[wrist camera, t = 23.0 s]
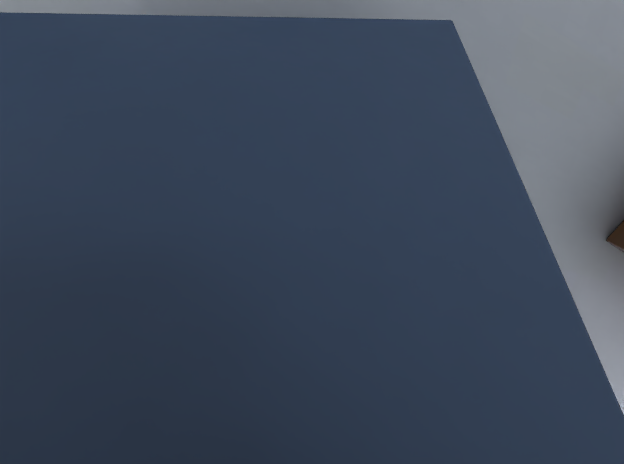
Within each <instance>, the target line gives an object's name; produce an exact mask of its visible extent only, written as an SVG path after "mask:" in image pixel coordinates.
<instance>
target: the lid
mask: <svg viewBox="0 0 624 464" xmlns="http://www.w3.org/2000/svg"><path fill="white" fill-rule="evenodd" d="M0 464H624V415H623V413H622V410H621V408H620V406H619V404H618V401H617V399H616V397H615V394H614V392H613V390H612V387H611V385H610V383H609V381H608V378H607V376H606V374H605V371H604V369H603V367H602V364H601V362H600V360H599V357H598V355H597V353H596V351H595V348H594V346H593V344H592V341H591V339H590V337H589V334H588V332H587V330H586V328H585V325H584V323H583V321H582V318H581V316H580V314H579V311H578V309H577V307H576V305H575V302H574V300H573V298H572V295H571V293H570V291H569V288H568V286H567V284H566V282H565V279H564V277H563V275H562V272H561V270H560V268H559V265H558V263H557V261H556V258H555V256H554V254H553V252H552V249H551V247H550V245H549V242H548V240H547V238H546V235H545V233H544V231H543V229H542V226H541V224H540V222H539V219H538V217H537V215H536V212H535V210H534V208H533V206H532V203H531V201H530V199H529V196H528V194H527V192H526V189H525V187H524V185H523V183H522V180H521V178H520V176H519V173H518V171H517V169H516V166H515V164H514V162H513V159H512V157H511V155H510V153H509V150H508V148H507V146H506V143H505V141H504V139H503V136H502V134H501V132H500V130H499V127H498V125H497V123H496V120H495V118H494V116H493V113H492V111H491V109H490V107H489V104H488V102H487V100H486V97H485V95H484V93H483V90H482V88H481V86H480V84H479V81H478V79H477V77H476V74H475V72H474V70H473V67H472V65H471V63H470V60H469V58H468V56H467V54H466V51H465V49H464V47H463V44H462V42H461V40H460V37H459V35H458V33H457V31H456V28H455V26H454V24H453V21H451V20H406V19H348V18H289V17H231V16H172V15H114V14H55V13H0Z"/></svg>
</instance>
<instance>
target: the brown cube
mask: <svg viewBox="0 0 624 464" xmlns="http://www.w3.org/2000/svg"><path fill="white" fill-rule="evenodd" d="M606 241H607V242H609V243H610V244H612V245H613V246H615V247H616V248H618V249H619V250H621V251H622V252H624V221H623V222H622V223H621V224H620V225H619V226H618V227H617V228H616V230H615V231H614V232H613V233H612V234H611V235H610V236H609V237H608V238H607V239H606Z"/></svg>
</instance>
